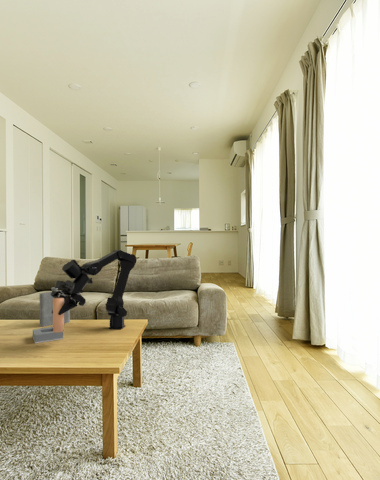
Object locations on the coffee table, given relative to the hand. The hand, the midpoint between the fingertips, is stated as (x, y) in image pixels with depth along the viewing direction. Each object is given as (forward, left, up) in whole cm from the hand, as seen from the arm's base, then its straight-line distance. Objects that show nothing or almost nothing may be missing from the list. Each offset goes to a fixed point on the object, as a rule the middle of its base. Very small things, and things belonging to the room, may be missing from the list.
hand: (55, 313), depth 132 cm
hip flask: (+23, -35, -14) cm, 44 cm away
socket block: (+10, -10, -13) cm, 20 cm away
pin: (-1, -1, -8) cm, 8 cm away
